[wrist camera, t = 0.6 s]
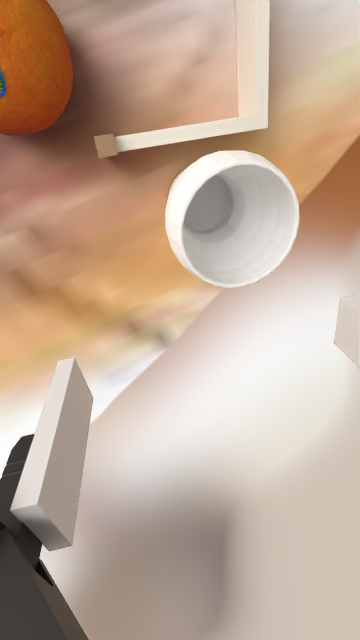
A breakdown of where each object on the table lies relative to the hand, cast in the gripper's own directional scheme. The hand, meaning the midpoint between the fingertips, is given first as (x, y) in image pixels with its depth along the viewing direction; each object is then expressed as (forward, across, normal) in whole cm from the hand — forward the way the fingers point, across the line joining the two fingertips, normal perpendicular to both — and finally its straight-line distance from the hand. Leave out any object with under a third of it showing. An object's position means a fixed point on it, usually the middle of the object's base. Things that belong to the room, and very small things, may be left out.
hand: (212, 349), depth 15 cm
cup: (+26, +5, +2) cm, 26 cm away
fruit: (+26, -10, +16) cm, 32 cm away
